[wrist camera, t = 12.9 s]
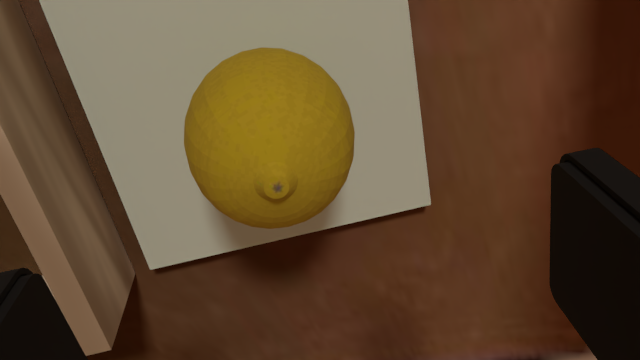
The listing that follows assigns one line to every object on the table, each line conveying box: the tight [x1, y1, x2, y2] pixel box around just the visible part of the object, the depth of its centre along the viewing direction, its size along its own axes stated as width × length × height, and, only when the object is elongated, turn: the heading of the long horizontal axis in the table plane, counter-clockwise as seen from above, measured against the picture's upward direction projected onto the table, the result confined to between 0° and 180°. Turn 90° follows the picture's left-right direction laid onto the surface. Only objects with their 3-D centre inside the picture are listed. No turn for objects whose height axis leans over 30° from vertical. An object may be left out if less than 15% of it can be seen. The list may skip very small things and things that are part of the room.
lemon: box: [184, 47, 355, 229], centre depth 18 cm, size 6×6×8 cm
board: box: [39, 0, 431, 270], centre depth 22 cm, size 13×13×1 cm
